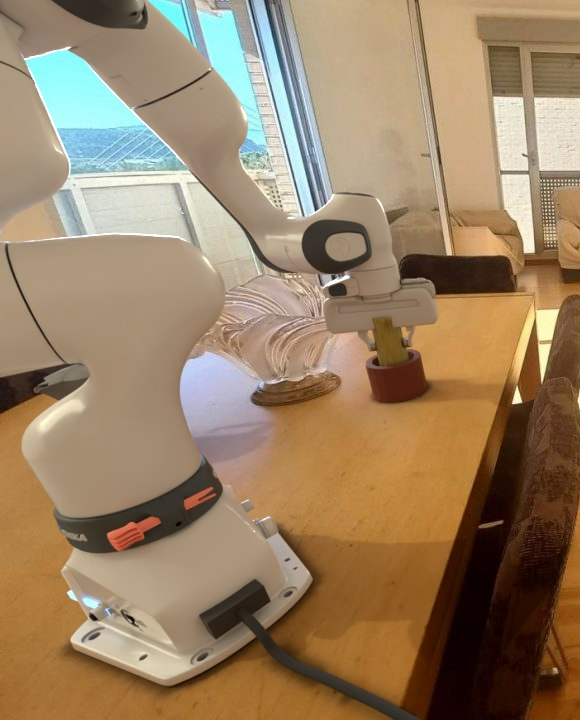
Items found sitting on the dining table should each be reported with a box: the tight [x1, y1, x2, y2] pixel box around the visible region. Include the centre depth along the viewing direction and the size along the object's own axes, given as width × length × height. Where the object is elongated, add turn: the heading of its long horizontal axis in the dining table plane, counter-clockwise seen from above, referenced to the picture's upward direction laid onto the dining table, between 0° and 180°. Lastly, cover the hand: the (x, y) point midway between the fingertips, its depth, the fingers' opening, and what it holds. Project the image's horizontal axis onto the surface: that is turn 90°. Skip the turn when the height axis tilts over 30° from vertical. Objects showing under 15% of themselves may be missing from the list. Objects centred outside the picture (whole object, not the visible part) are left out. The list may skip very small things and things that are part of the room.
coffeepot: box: [33, 363, 90, 402], centre depth 80 cm, size 15×9×18 cm, turn 171°
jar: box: [364, 348, 428, 404], centre depth 98 cm, size 10×10×8 cm
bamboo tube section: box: [371, 317, 410, 367], centre depth 96 cm, size 6×6×14 cm
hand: (391, 348), depth 96 cm, fingers closed on bamboo tube section, 5 cm apart
